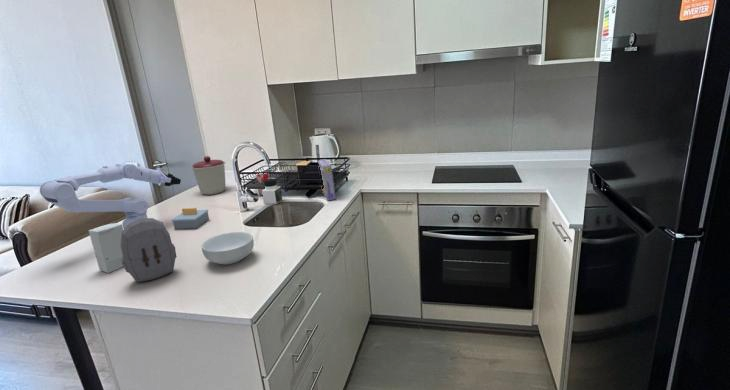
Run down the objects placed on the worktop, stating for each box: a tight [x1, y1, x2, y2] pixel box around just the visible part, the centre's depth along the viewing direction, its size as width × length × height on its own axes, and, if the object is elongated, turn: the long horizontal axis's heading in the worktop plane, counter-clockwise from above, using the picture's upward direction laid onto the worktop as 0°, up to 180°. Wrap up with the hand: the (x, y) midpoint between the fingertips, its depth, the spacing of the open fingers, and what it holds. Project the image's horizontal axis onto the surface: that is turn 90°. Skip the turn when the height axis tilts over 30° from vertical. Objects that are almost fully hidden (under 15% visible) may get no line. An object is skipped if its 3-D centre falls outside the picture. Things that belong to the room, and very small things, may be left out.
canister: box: [190, 155, 227, 196], centre depth 216 cm, size 18×18×21 cm
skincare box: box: [88, 222, 125, 274], centre depth 130 cm, size 8×6×15 cm
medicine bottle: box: [261, 177, 283, 205], centre depth 191 cm, size 7×7×12 cm
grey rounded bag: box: [121, 217, 178, 283], centre depth 119 cm, size 15×8×20 cm, turn 127°
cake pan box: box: [317, 158, 337, 201], centre depth 194 cm, size 19×5×18 cm, turn 14°
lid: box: [171, 207, 209, 222], centre depth 167 cm, size 12×11×4 cm
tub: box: [172, 211, 210, 230], centre depth 168 cm, size 11×10×4 cm
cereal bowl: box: [201, 231, 255, 266], centre depth 130 cm, size 17×17×7 cm
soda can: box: [256, 172, 271, 196], centre depth 206 cm, size 7×7×12 cm
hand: (174, 180), depth 175 cm, fingers open, 7 cm apart
